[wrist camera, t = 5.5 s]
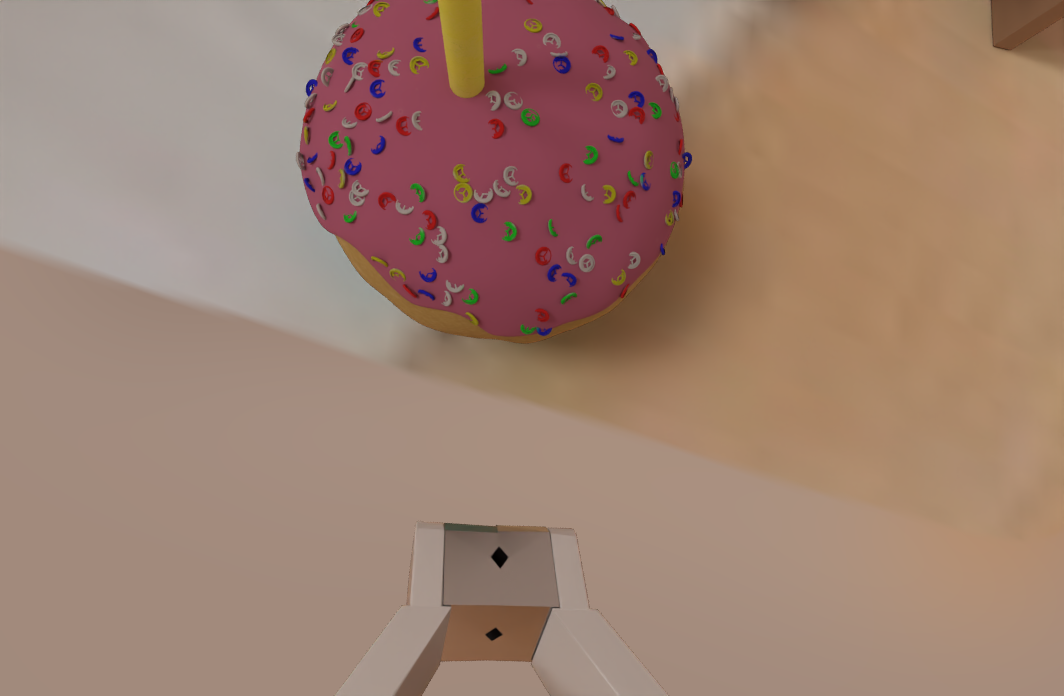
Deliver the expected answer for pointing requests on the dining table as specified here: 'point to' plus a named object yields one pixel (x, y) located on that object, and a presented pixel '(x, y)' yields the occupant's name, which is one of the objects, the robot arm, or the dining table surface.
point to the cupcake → (495, 160)
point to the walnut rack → (1022, 19)
